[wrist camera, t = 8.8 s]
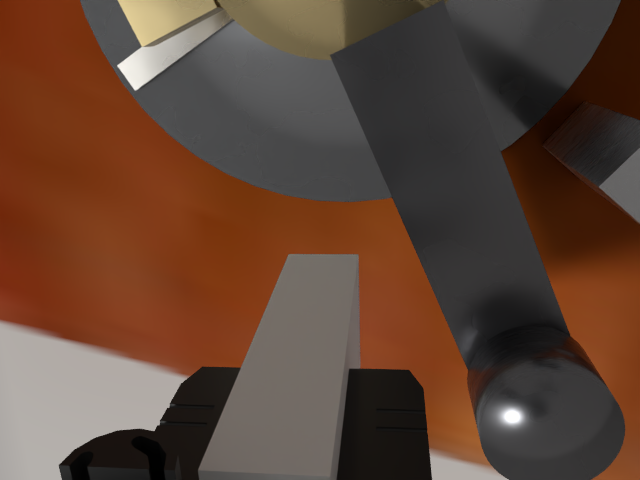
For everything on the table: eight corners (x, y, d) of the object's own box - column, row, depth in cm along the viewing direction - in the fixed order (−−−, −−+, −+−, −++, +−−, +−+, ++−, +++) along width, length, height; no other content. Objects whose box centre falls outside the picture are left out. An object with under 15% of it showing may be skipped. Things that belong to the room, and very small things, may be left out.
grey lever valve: (67, -123, 17) (-190, -247, 9) (516, -407, 14) (674, -926, 6) (326, 378, 21) (295, 567, 14) (706, 245, 18) (929, 393, 11)
